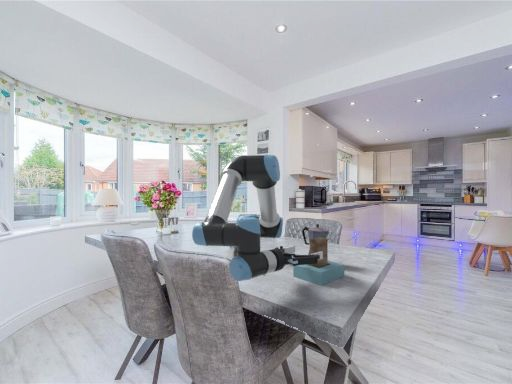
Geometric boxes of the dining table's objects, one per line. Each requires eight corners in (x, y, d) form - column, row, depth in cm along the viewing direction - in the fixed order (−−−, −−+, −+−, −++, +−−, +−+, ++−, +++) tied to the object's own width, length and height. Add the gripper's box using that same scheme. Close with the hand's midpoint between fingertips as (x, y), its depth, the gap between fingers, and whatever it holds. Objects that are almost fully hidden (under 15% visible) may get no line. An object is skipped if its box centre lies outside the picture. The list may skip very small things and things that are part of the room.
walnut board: (310, 274, 103) (309, 239, 103) (319, 271, 108) (319, 237, 108) (317, 276, 100) (317, 240, 100) (327, 273, 105) (327, 238, 105)
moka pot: (326, 268, 116) (326, 226, 116) (297, 262, 125) (297, 223, 125) (333, 263, 123) (333, 224, 123) (305, 258, 132) (305, 222, 133)
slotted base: (293, 276, 104) (293, 264, 104) (316, 268, 115) (316, 257, 115) (321, 285, 93) (321, 272, 93) (344, 276, 104) (344, 264, 104)
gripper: (247, 264, 94) (284, 255, 108) (298, 281, 75) (335, 268, 89) (247, 244, 94) (284, 238, 108) (298, 257, 75) (335, 247, 89)
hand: (307, 251), depth 99 cm, fingers open, 13 cm apart
